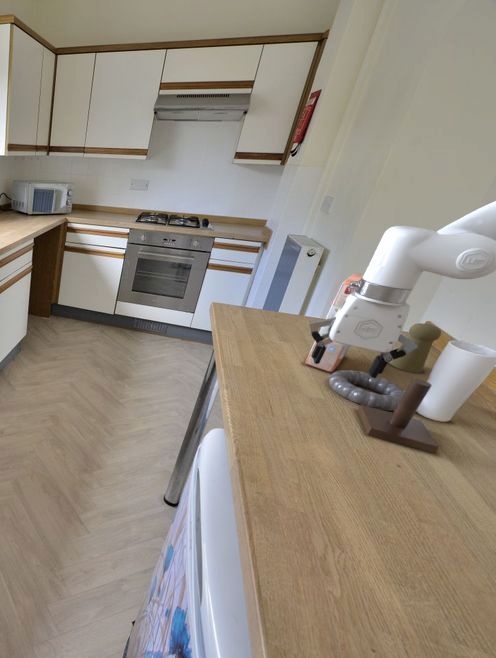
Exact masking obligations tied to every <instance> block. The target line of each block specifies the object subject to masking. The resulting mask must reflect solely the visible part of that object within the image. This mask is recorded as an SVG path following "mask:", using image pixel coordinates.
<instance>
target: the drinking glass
mask: <svg viewBox="0 0 496 658" xmlns="http://www.w3.org/2000/svg"><path fill="white" fill-rule="evenodd" d="M495 366H496V350H495V349H493V348H490V347H488V346H485V345H482V344H479V343H474V342H470V341H465V340H455V339H454V340H450V341H448V342H447V344H446V345H445V346H444V348H443V349H442V351H441V352H440V354H439V356H438V357H437V359H436V361H435V363H434V365H433V366H432V369H431V371H430V374H429V376H428V377H427V380H426V382H428V383H430V384H431V385H432V386H431V387H430V389H429V391H428V392H427V394H426V396H425V397H424V399H423V400H422V402H421V404H420V405H419V407H418V408H417V410H416V412H415V413H418V415H420V416H421V417H425V418H426V419H428V420H432V421H435V422H443V423H445V422H446V423H447V422H450V421H451V420H452V419H453V417H454V416H455V415H456V413H457V412H458V411H459V409H460V408H461V407H462V406H463V405H464V404H465V403H466V402H467V400H468V399H470V397H471V396H472V394H473V393H474V392H475V391H476V390H477V389H478V388H479V387H480V386H481V385H482V383H484V381H485V380H486V379H487V377H489V375H490V374H491V373H492V371H493V370H494V368H495Z"/></svg>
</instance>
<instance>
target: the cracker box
mask: <svg viewBox="0 0 496 658" xmlns="http://www.w3.org/2000/svg"><path fill="white" fill-rule="evenodd" d="M363 276H364V274H361V273H357V272H356V273H355V272H354V273H353V274H352V275H350V276H349V277H348V278H346V279H344V281H343V282H342V283H341V285H340V287H339V289H338V291H337V293H336V295H335V298H334V300H333V302H332V304H331V306H330V308H329V311H328V313H327V315H326V317H325V319H329V318H334V316H335V315H336V313H337V312H338V310H339V308H340V307H341V305H342V304H343V302H344V301H345V300H346V298H347V297H348V296H349V295H350V294H351V293H352V292H356V291H355V289H353V288H349V284H350V282H351V281H355V282H356V281H359V280H360V279H361V278H363ZM328 328H329V326H325V327H320V330H319V331H318V332H319V334H320V335H321V336H322V335H324V334H326V333H328ZM316 344H317V343H316V341H315V340H314V343H313V345H312V347H311V349H310V351H309V353H308V355H307V357H306V359H305V363H304V364H305V365H307V366H311V367H313V368H316V369H319V370H322V371H325V372H328V373H330V374H333V373H334V372H335V369H336V368H337V367H338V366H339V364H340V363H341V362H342V361H343V359H344V358H345V357H346V355H347V353H348V351H349V349H350V348H351V346H348V345H343V344H339V343H336V342H332V343H330V344H327V345H326V346H325V347H326V350H325V352H324V355H323V357H322V359H321V361H320V363H319V364H315V363H314V360H313V358H312V357H311V355H312V352H313V350H314V348H315V346H316Z"/></svg>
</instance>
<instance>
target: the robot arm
mask: <svg viewBox="0 0 496 658" xmlns="http://www.w3.org/2000/svg"><path fill="white" fill-rule="evenodd" d="M423 272H427V273H430V274H431V273H432V274H434V275H439V276H443V277H446V278H450V279H455V280H475V279H481V278H484V277H486V276H488V275H491V274H493V273H494V272H496V200H495V201H493V202H490V203H488V204H486V205H484V206H481V207H480V208H477V209H475V210H474V211H472V212H469V213H468V214H466V215H464V216H462V217H461V218H458V219H457V220H454V221H453V222H450V223H449V224H447V225H446V226H443V227H442V228H440V229H439V230H437V231H435V230H432V229H429V228H425V227H424V228H423V227H418V226H409V225H394V226H391V227H389V228H387V229H386V231H384V233H383V235H382V237H381V239H380V241H379V243H378V245H377V247H376V250H375V251H374V254H373V256H372V258H371V259H370V261H369V264H368V266H367V268H366V270H365V272H364V274H363V275H364V276H363V278H361V279H360V280H359V281H356V282H355V281H351V282H350V284H349V288H353V289H355V291H356V292H352V293H351V294H350V295H349V296H348V297H347V298H346V300H345V301H344V302H343V304H342V305H341V307H340V308H339V310H338V312H337V313H336V315H335V316H334V318H329V319H326V318H324V319H318V320H316V319H315V320H311V321H309V322H308V326H309V330H310V335H311V337H312V338H313V340H314V342H315V341H316V343H317V344H316V346H315V348H314V350H313V352H312V355H311V357H312V358H313V360H314V363H315V364H319V363H320V361H321V359H322V357H323V355H324V352H325V350H326V347H325V346H326V345H327V344H330V343H332V342H336V343H339V344H343V345H348V346H350V347H351V348H352V347H353V348H357V349H362V350H366V351H369V352H370V351H371V352H375V353H380V354H378V355H376V356H375V357H374V360H373V361H372V364H371V365H370V367H369V368H368V371H367V372H368V374H370V376H371V377H372V378H376V377H378V375H381V374H382V373H384V371H385V368H386V367H387V365H388V364H389V362H391V361H393V360H394V359H397V358H400V357H403V356H405V355H406V354H407V353H409V352H411V351H412V350H414V349H416V348H417V345H416V344H415V343H414V342H413V341H412V340H410V339H409V338H408V337H407V336H406V335H405V334H404V333H402V332H403V329H404V326H405V325H406V322H407V318H408V316H409V312H410V309H411V305H410V304H409V303H407V300H408V299H409V298H410V295H411V294H412V292H413V291H414V288H415V287H416V284H417V283H418V281H419V279H420V277H421V276H422V274H423ZM325 326H329V328H328V333H326V334H324V335H322V336H321V335H320V334H319V332H320V331H319V328H322V327H325ZM397 342H400V343H401V346H402V344H403V346H402V347H401V346H400V347H401V348H400V347H399V348H398V347H397V348H395V347H396V345H397ZM394 348H395V349H394Z"/></svg>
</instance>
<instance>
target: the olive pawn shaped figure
mask: <svg viewBox="0 0 496 658" xmlns="http://www.w3.org/2000/svg"><path fill="white" fill-rule="evenodd" d="M408 329H409V330H408V334H409V336H408V337H407V338H409V339H410V340H412V341H413V342H414V343H415V344H416V345H417V348H416V349H414V350H412V351H411V352H409V353H407V354H406V355H405V356H403V357H400V358H397V359H394V360H393V361H391V362H388V364H389V365H391V366H392V367H395V368H397V369H400V370H402V371H405V372H409V373H416V374H417V373H422V372H423V370H424V366H425V364H426V361H427V359H428V356H429V353H430V350H431V348H432V346H433V343H434V342H435V341H437V340H438V339H439V338H440V337H441V335H442V330H441V329H440V328H439V327H437V326H435V325H433V324H430V323H429V324H428V323H421V322H417V323H414V324H412V325H411V326H410V327H409V328H408ZM402 346H403V344H402V343H401V345H400V347H399V348H401V347H402Z"/></svg>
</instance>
